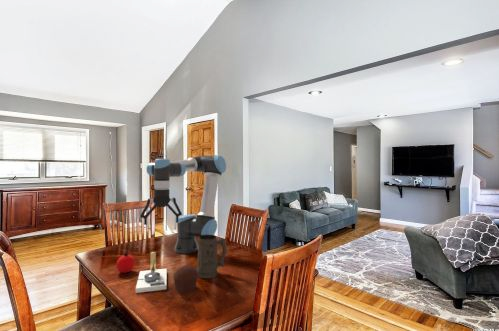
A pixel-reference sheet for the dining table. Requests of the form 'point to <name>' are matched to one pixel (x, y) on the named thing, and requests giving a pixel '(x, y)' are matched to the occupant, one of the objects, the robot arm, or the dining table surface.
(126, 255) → the ornament
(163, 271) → the stand
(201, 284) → the dining table surface
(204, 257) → the beer stein
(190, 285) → the muffin
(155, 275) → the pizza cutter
